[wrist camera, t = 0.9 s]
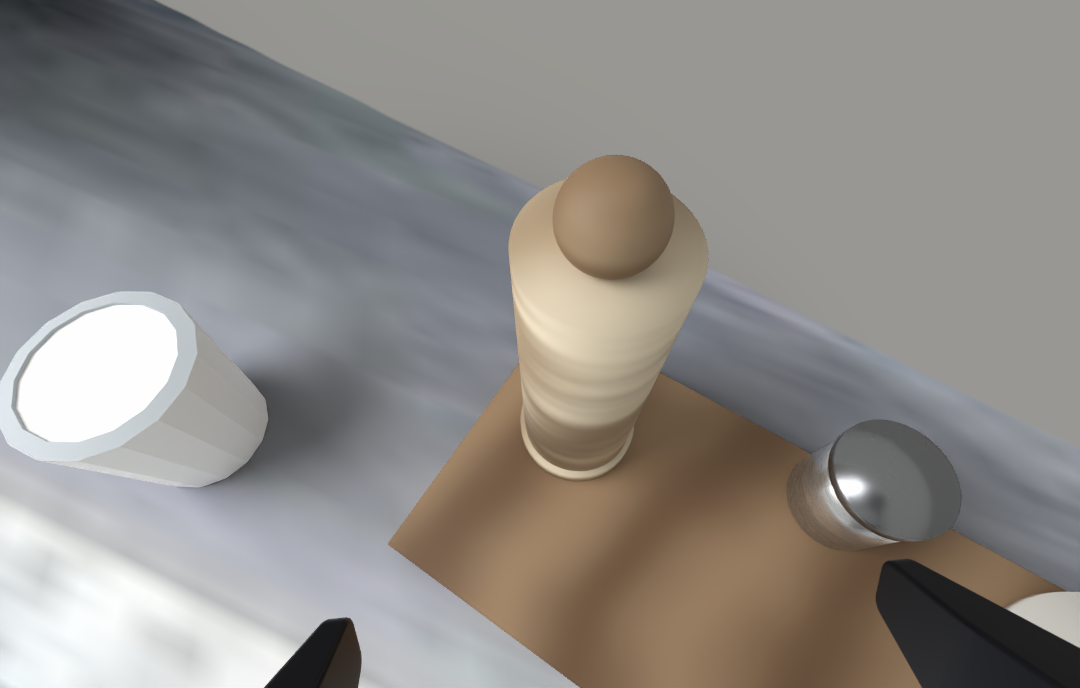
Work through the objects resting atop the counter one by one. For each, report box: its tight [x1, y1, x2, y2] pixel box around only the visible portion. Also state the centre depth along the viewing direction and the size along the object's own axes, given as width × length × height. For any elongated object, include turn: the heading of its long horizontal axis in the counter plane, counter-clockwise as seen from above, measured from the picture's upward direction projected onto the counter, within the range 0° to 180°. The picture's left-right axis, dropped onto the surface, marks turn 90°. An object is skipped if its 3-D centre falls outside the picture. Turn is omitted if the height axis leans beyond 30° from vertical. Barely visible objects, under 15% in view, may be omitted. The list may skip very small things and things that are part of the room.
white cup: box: [0, 291, 268, 487], centre depth 22 cm, size 7×7×7 cm
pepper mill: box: [509, 155, 708, 482], centre depth 17 cm, size 5×5×15 cm
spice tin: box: [786, 420, 961, 551], centre depth 20 cm, size 4×4×4 cm
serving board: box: [388, 364, 1067, 688], centre depth 20 cm, size 34×13×1 cm, turn 58°
